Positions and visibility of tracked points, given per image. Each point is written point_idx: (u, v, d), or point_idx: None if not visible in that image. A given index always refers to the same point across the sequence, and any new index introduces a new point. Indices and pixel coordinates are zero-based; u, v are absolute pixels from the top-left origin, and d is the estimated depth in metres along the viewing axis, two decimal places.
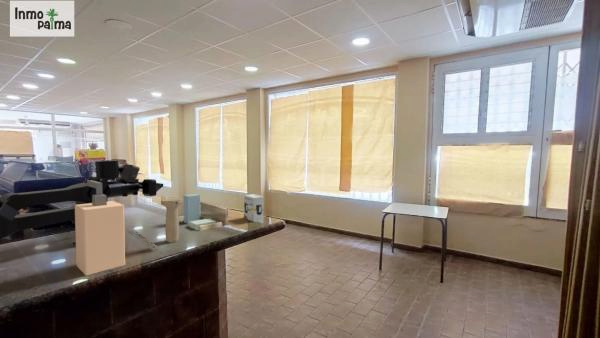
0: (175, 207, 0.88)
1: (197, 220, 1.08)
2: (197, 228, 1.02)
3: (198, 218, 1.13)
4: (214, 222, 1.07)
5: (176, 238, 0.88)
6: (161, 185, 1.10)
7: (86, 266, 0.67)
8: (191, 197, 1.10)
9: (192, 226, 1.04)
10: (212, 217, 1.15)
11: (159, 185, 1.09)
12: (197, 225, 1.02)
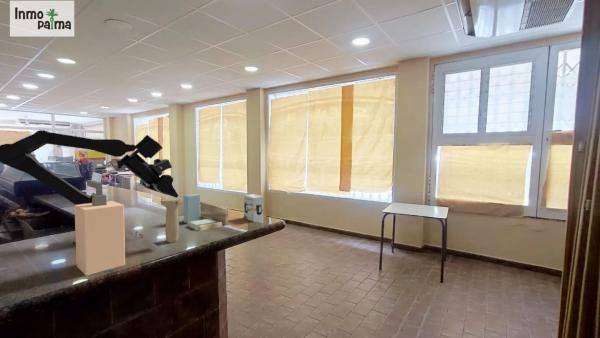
0: (175, 207, 0.88)
1: (198, 220, 1.08)
2: (197, 228, 1.02)
3: (198, 218, 1.13)
4: (214, 222, 1.07)
5: (176, 238, 0.88)
6: (175, 194, 1.03)
7: (86, 266, 0.67)
8: (191, 197, 1.10)
9: (192, 226, 1.04)
10: (212, 217, 1.15)
11: (173, 192, 1.02)
12: (197, 225, 1.02)
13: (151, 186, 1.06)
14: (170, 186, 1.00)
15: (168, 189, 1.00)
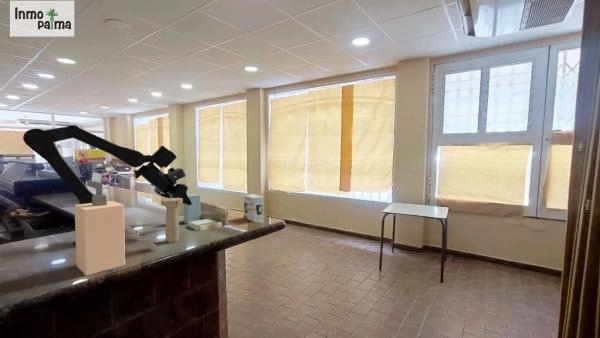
0: (175, 207, 0.88)
1: (197, 220, 1.08)
2: (197, 228, 1.02)
3: (198, 218, 1.13)
4: (214, 222, 1.07)
5: (176, 238, 0.88)
6: (189, 202, 1.07)
7: (86, 266, 0.67)
8: (191, 197, 1.10)
9: (192, 226, 1.04)
10: (212, 217, 1.15)
11: (187, 200, 1.06)
12: (197, 225, 1.02)
13: (165, 194, 1.10)
14: (184, 194, 1.04)
15: (182, 197, 1.04)
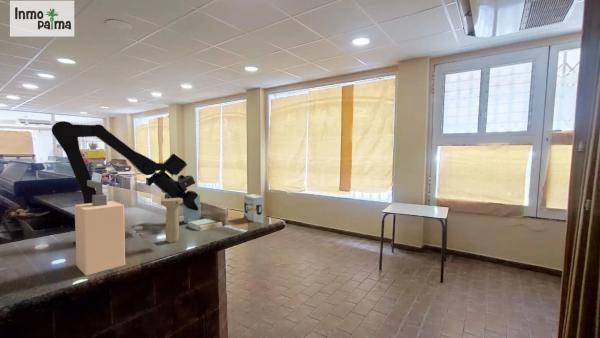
0: (175, 207, 0.88)
1: (197, 220, 1.08)
2: (198, 228, 1.02)
3: (198, 218, 1.13)
4: (214, 222, 1.07)
5: (176, 238, 0.88)
6: (196, 208, 1.11)
7: (86, 266, 0.67)
8: None
9: (192, 226, 1.04)
10: (212, 217, 1.15)
11: (194, 206, 1.10)
12: (198, 225, 1.02)
13: None
14: None
15: (189, 203, 1.09)
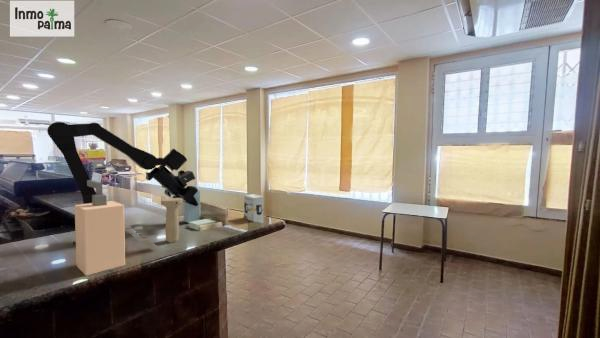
0: (175, 207, 0.88)
1: (197, 220, 1.08)
2: (198, 228, 1.02)
3: (198, 214, 1.13)
4: (214, 222, 1.07)
5: (176, 238, 0.88)
6: (195, 203, 1.11)
7: (86, 266, 0.67)
8: None
9: (192, 226, 1.04)
10: (212, 217, 1.15)
11: (194, 201, 1.10)
12: (198, 225, 1.02)
13: (178, 197, 1.11)
14: None
15: (189, 198, 1.09)
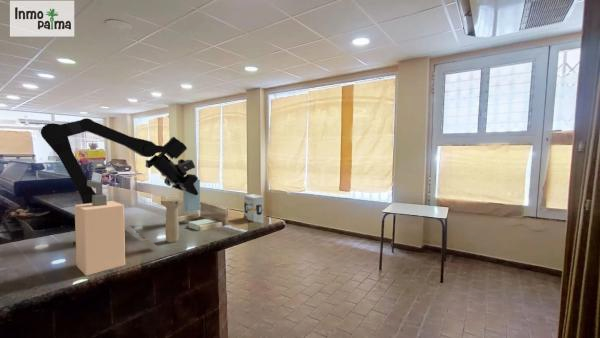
0: (175, 207, 0.88)
1: (196, 221, 1.07)
2: (198, 228, 1.02)
3: (198, 203, 1.13)
4: (214, 222, 1.07)
5: (176, 238, 0.88)
6: (195, 192, 1.11)
7: (86, 266, 0.67)
8: None
9: (193, 227, 1.03)
10: (212, 217, 1.15)
11: (194, 190, 1.10)
12: (198, 225, 1.02)
13: (177, 185, 1.11)
14: (191, 184, 1.08)
15: (189, 187, 1.08)
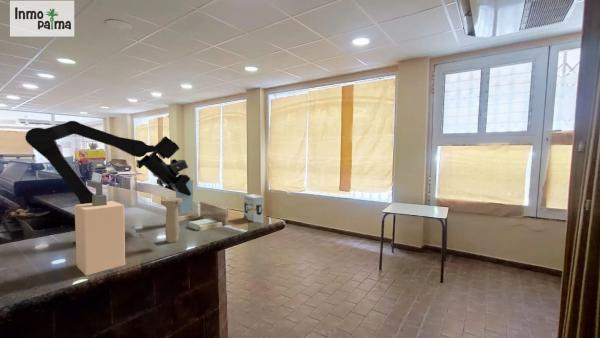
0: (175, 207, 0.88)
1: (197, 220, 1.08)
2: None
3: (191, 203, 1.11)
4: (215, 222, 1.08)
5: (176, 238, 0.88)
6: (188, 193, 1.09)
7: (86, 266, 0.67)
8: None
9: (193, 226, 1.04)
10: (212, 217, 1.15)
11: (187, 191, 1.08)
12: (199, 225, 1.02)
13: (170, 186, 1.09)
14: None
15: (182, 188, 1.06)
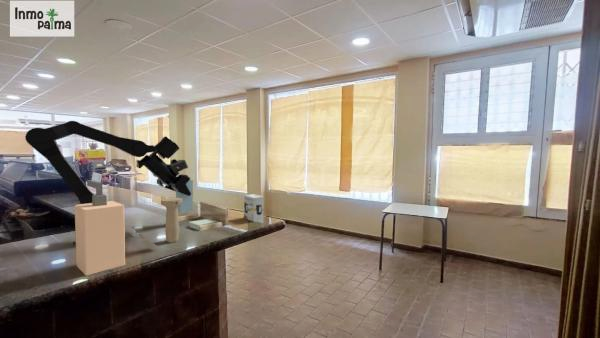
0: (175, 207, 0.88)
1: (197, 221, 1.08)
2: None
3: (191, 203, 1.11)
4: (215, 222, 1.08)
5: (176, 238, 0.88)
6: (188, 193, 1.09)
7: (86, 266, 0.67)
8: None
9: (193, 227, 1.04)
10: (212, 217, 1.15)
11: (187, 191, 1.08)
12: None
13: (170, 186, 1.09)
14: None
15: (182, 188, 1.06)
